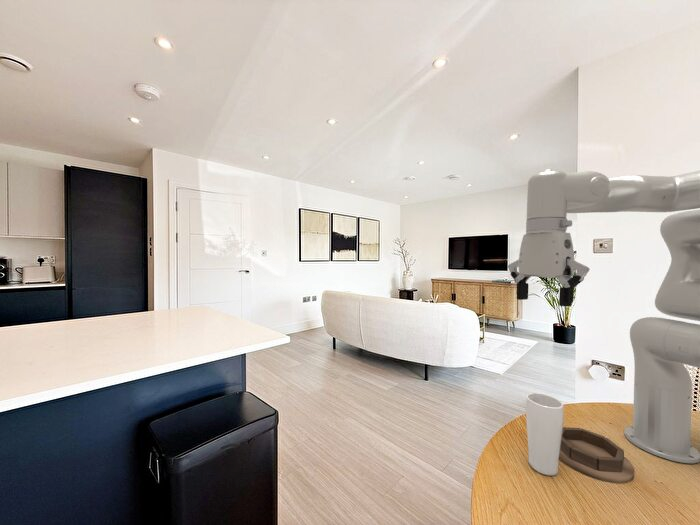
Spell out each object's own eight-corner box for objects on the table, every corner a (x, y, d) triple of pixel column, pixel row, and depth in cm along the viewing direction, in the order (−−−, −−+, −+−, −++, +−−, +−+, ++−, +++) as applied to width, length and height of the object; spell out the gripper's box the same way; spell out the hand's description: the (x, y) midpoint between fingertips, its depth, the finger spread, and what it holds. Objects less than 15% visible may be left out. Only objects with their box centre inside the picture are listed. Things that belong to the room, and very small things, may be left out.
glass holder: (557, 429, 76) (557, 416, 76) (636, 459, 64) (637, 444, 64) (540, 454, 66) (541, 440, 66) (631, 495, 54) (631, 478, 54)
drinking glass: (569, 482, 57) (570, 409, 57) (532, 476, 59) (534, 405, 59) (552, 459, 64) (553, 394, 64) (519, 454, 65) (521, 391, 65)
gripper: (600, 225, 58) (597, 308, 58) (521, 232, 73) (518, 297, 74) (578, 222, 55) (574, 309, 55) (500, 229, 71) (497, 297, 71)
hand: (542, 302), depth 64 cm, fingers open, 9 cm apart
